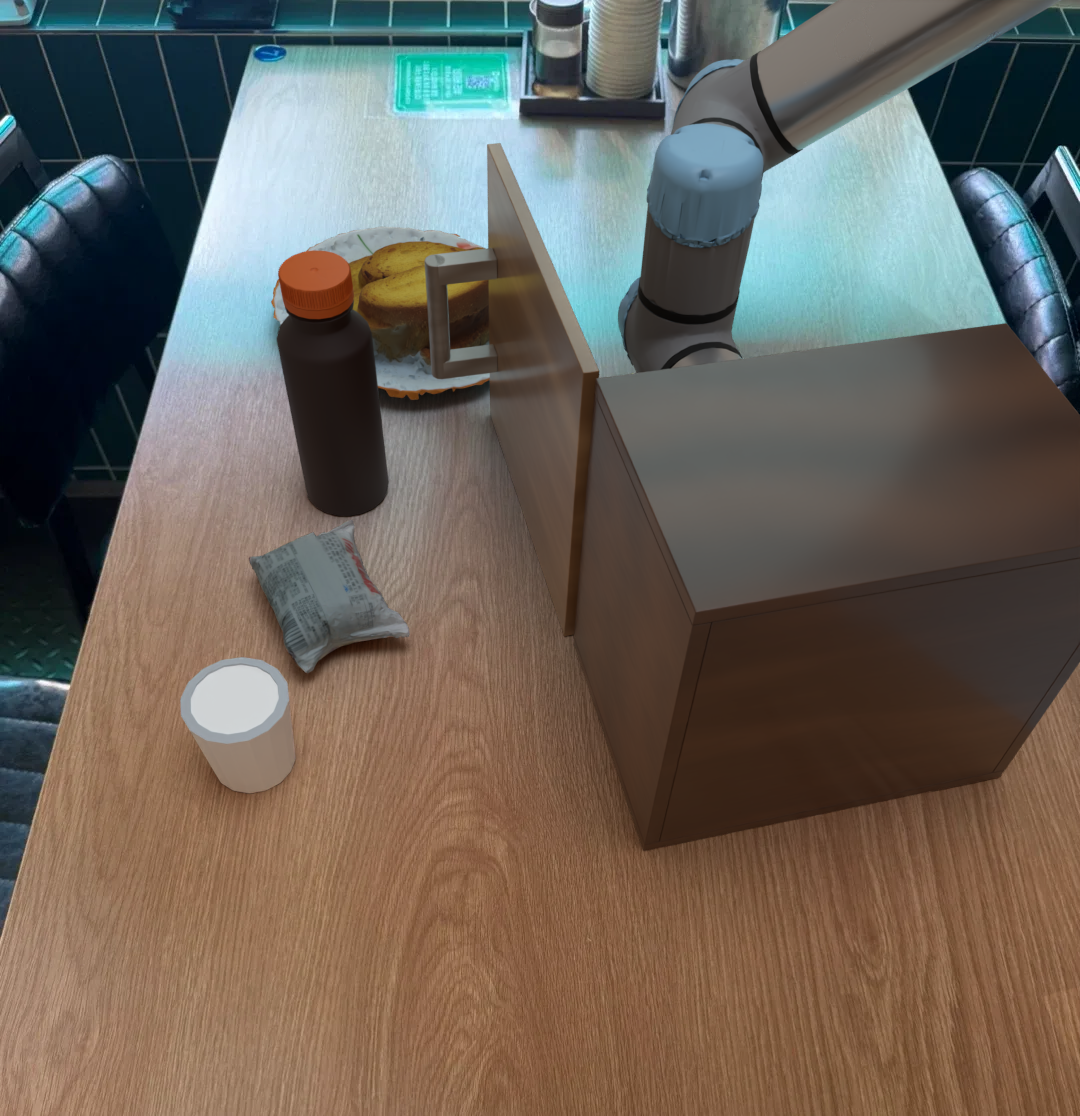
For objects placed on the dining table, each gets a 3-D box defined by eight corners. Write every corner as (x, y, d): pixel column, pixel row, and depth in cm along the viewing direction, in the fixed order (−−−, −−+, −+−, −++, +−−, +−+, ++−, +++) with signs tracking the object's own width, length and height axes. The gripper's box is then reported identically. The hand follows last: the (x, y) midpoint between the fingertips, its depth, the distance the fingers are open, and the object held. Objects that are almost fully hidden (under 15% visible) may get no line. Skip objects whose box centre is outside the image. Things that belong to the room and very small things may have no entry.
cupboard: (572, 644, 82) (595, 377, 63) (892, 588, 86) (1006, 322, 67) (642, 852, 72) (695, 612, 53) (1000, 777, 76) (1172, 529, 57)
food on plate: (363, 225, 114) (356, 162, 108) (584, 290, 108) (589, 227, 103) (224, 363, 100) (208, 299, 95) (469, 445, 95) (468, 381, 89)
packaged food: (357, 544, 87) (349, 499, 83) (413, 651, 81) (407, 607, 77) (251, 579, 85) (238, 533, 81) (300, 690, 79) (288, 648, 75)
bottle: (404, 478, 92) (383, 259, 76) (360, 529, 88) (328, 311, 72) (336, 451, 94) (301, 231, 77) (290, 500, 90) (243, 280, 74)
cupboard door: (495, 648, 82) (492, 385, 62) (430, 422, 96) (412, 151, 77) (576, 634, 83) (599, 370, 63) (500, 412, 97) (500, 142, 78)
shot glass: (217, 814, 73) (193, 756, 67) (193, 736, 77) (168, 674, 71) (317, 781, 75) (302, 721, 69) (289, 705, 78) (272, 643, 73)
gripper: (839, 448, 85) (973, 675, 73) (580, 486, 82) (673, 732, 69) (865, 367, 79) (1017, 600, 67) (586, 405, 76) (690, 658, 63)
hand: (841, 667), depth 68 cm, fingers closed on coffee box, 8 cm apart
